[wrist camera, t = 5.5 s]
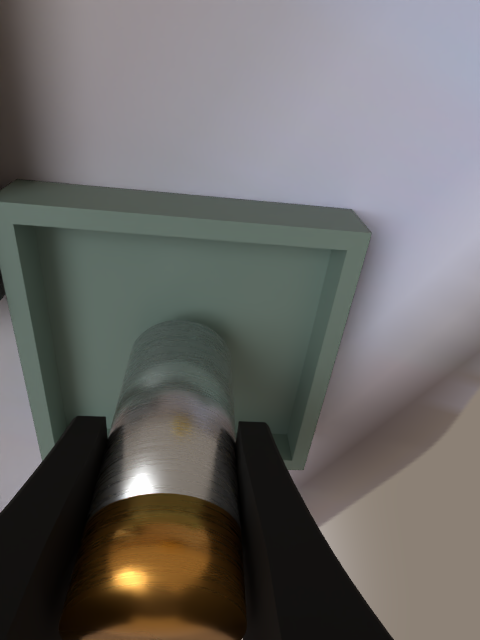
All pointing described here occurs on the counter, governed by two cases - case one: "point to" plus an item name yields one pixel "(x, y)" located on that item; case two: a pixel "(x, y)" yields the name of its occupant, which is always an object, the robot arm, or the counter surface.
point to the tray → (176, 296)
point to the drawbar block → (1, 287)
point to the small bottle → (165, 501)
